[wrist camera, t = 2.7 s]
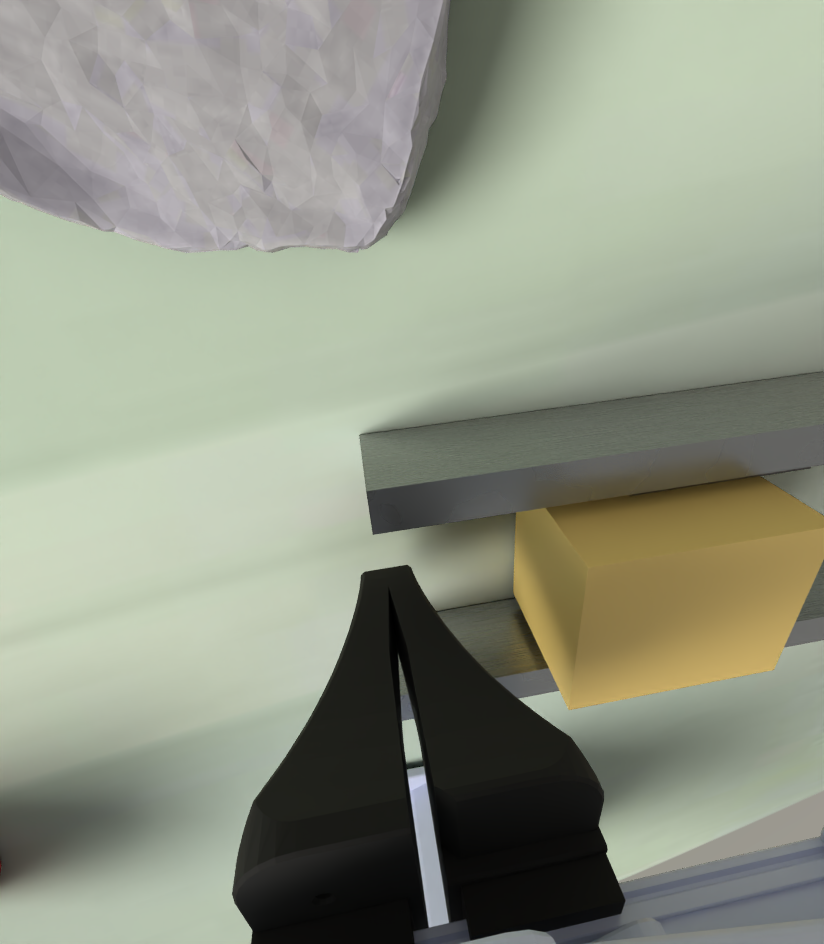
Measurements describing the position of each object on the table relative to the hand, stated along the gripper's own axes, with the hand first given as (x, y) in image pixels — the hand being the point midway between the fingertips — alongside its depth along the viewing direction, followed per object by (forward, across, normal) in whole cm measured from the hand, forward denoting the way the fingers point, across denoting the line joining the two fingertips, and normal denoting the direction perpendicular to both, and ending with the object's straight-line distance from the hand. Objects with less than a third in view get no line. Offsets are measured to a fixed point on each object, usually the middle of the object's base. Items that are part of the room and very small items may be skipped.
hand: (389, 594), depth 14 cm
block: (+2, -7, 0) cm, 8 cm away
